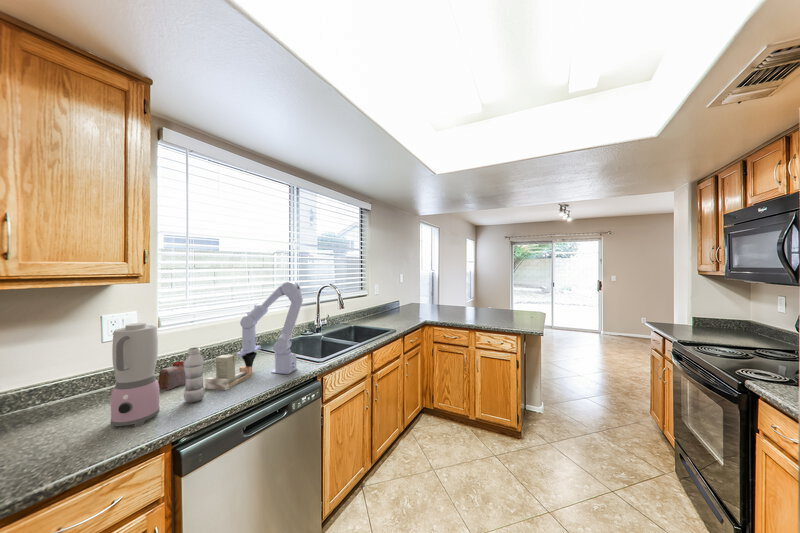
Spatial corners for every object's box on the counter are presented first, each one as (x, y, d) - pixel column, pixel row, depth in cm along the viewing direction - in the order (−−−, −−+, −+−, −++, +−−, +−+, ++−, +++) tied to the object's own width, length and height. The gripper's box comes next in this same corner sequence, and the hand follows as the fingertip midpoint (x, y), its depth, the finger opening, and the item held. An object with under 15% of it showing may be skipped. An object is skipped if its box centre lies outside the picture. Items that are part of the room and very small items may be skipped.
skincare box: (235, 382, 130) (235, 354, 130) (228, 386, 126) (228, 357, 126) (223, 381, 132) (223, 354, 132) (215, 385, 127) (215, 357, 127)
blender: (125, 413, 103) (125, 322, 103) (166, 408, 106) (166, 320, 106) (92, 438, 88) (92, 331, 88) (142, 432, 91) (142, 328, 91)
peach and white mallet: (252, 372, 142) (252, 364, 142) (234, 381, 130) (234, 372, 131) (243, 372, 143) (243, 364, 143) (225, 381, 132) (224, 372, 132)
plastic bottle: (194, 405, 109) (194, 351, 109) (179, 403, 110) (178, 350, 110) (208, 397, 115) (208, 346, 115) (194, 396, 116) (194, 345, 116)
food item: (187, 377, 137) (187, 356, 137) (200, 379, 135) (200, 357, 135) (156, 389, 124) (156, 365, 124) (170, 391, 122) (170, 367, 122)
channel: (251, 376, 137) (251, 368, 137) (225, 390, 122) (225, 380, 122) (232, 375, 139) (232, 366, 139) (205, 388, 124) (205, 378, 124)
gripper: (252, 336, 151) (252, 362, 151) (230, 343, 137) (230, 372, 137) (264, 337, 149) (264, 363, 149) (243, 344, 135) (243, 373, 135)
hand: (249, 368), depth 143 cm, fingers closed
